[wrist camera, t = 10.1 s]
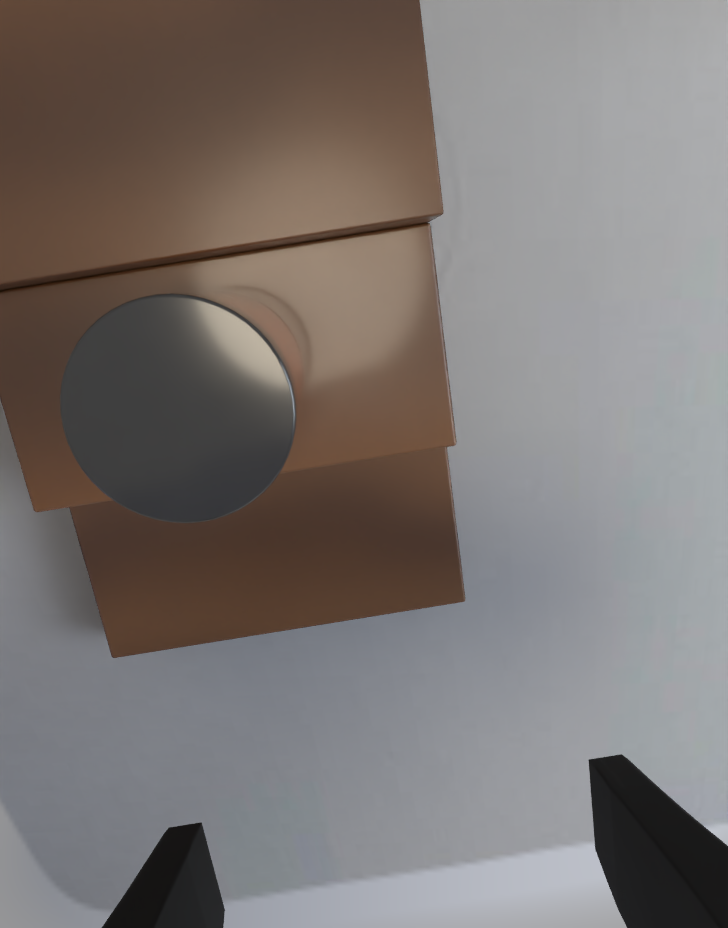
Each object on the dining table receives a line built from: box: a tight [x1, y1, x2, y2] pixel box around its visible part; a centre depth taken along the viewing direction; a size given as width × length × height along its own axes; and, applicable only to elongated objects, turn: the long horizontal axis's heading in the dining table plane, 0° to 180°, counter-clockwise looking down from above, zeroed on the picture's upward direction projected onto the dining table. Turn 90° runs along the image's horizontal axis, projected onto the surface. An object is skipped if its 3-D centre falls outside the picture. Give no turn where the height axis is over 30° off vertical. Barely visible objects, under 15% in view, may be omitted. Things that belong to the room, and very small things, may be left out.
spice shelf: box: [0, 0, 465, 658], centre depth 17 cm, size 16×11×6 cm, turn 9°
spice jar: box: [60, 291, 304, 523], centre depth 14 cm, size 4×4×5 cm
